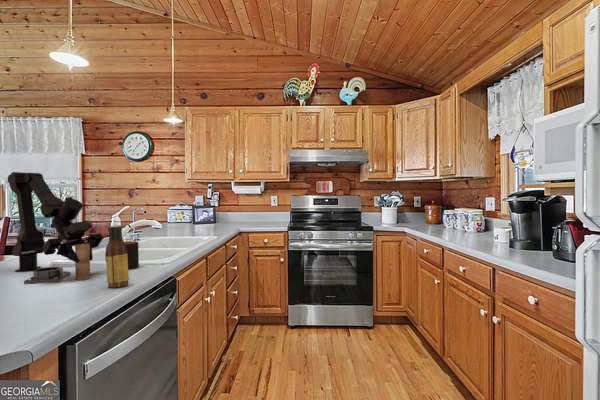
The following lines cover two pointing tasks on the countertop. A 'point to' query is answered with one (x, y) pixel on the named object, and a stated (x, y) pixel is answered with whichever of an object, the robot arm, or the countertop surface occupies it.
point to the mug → (132, 254)
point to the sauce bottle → (116, 259)
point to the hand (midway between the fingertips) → (85, 261)
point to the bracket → (47, 275)
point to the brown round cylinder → (82, 261)
